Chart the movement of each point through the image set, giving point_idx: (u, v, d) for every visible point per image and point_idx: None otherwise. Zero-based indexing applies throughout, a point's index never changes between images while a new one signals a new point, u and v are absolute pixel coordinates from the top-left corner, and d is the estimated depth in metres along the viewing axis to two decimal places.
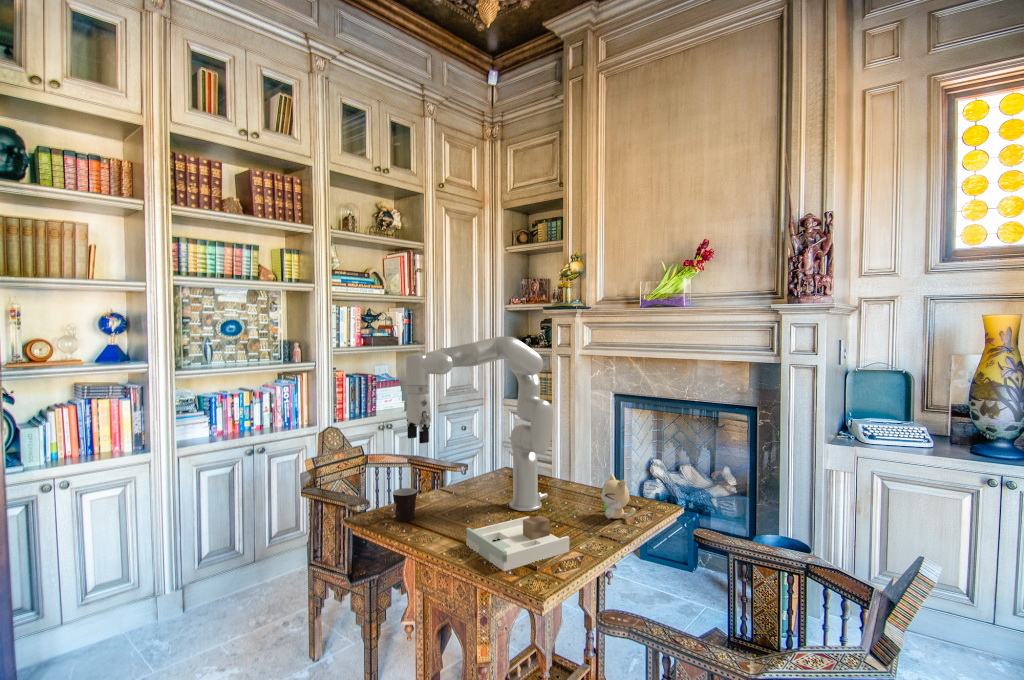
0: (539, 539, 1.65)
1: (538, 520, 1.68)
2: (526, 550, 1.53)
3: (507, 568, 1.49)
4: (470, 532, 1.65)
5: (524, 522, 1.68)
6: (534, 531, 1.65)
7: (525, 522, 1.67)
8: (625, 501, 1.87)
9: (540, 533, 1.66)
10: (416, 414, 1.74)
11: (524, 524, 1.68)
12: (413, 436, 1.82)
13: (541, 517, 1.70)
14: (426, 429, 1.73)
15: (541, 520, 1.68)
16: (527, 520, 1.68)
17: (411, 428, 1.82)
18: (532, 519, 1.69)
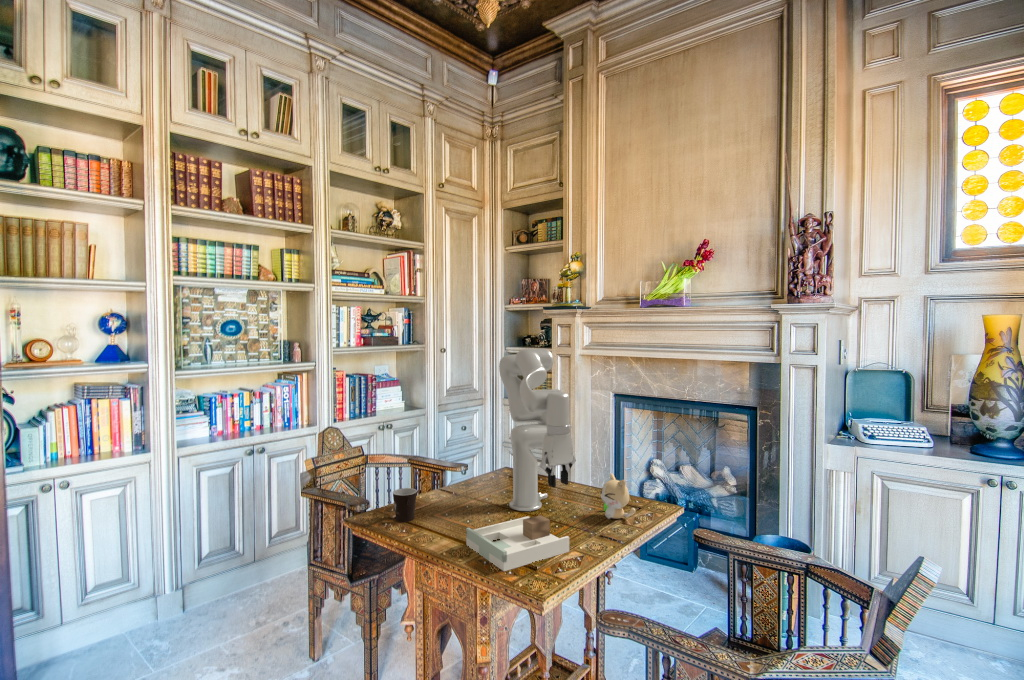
0: (539, 539, 1.65)
1: (538, 520, 1.68)
2: (526, 550, 1.53)
3: (507, 568, 1.49)
4: (470, 532, 1.65)
5: (524, 522, 1.68)
6: (534, 531, 1.65)
7: (525, 522, 1.67)
8: (625, 501, 1.87)
9: (540, 533, 1.66)
10: (571, 452, 1.73)
11: (524, 524, 1.68)
12: None
13: (541, 517, 1.70)
14: None
15: (541, 520, 1.68)
16: (527, 520, 1.68)
17: None
18: (532, 519, 1.69)
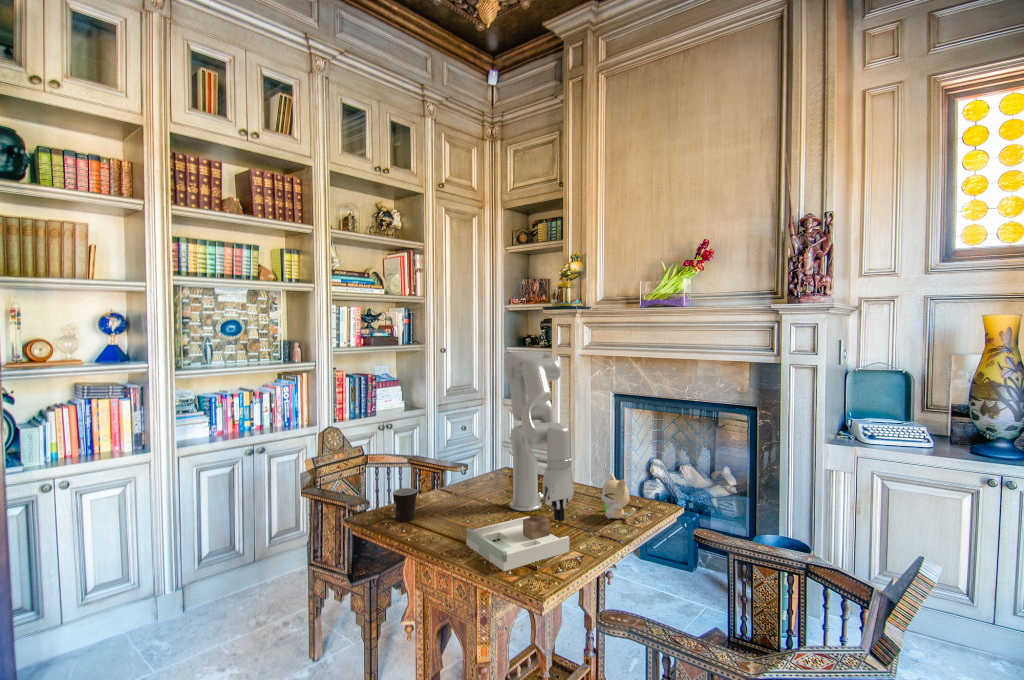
0: (539, 539, 1.65)
1: (538, 520, 1.68)
2: (526, 550, 1.53)
3: (507, 568, 1.49)
4: (470, 532, 1.65)
5: (524, 522, 1.68)
6: (534, 531, 1.65)
7: (525, 522, 1.67)
8: (625, 501, 1.87)
9: (540, 533, 1.66)
10: (571, 486, 1.73)
11: (524, 524, 1.68)
12: None
13: (541, 517, 1.70)
14: None
15: (541, 520, 1.68)
16: (527, 520, 1.68)
17: None
18: (532, 519, 1.69)
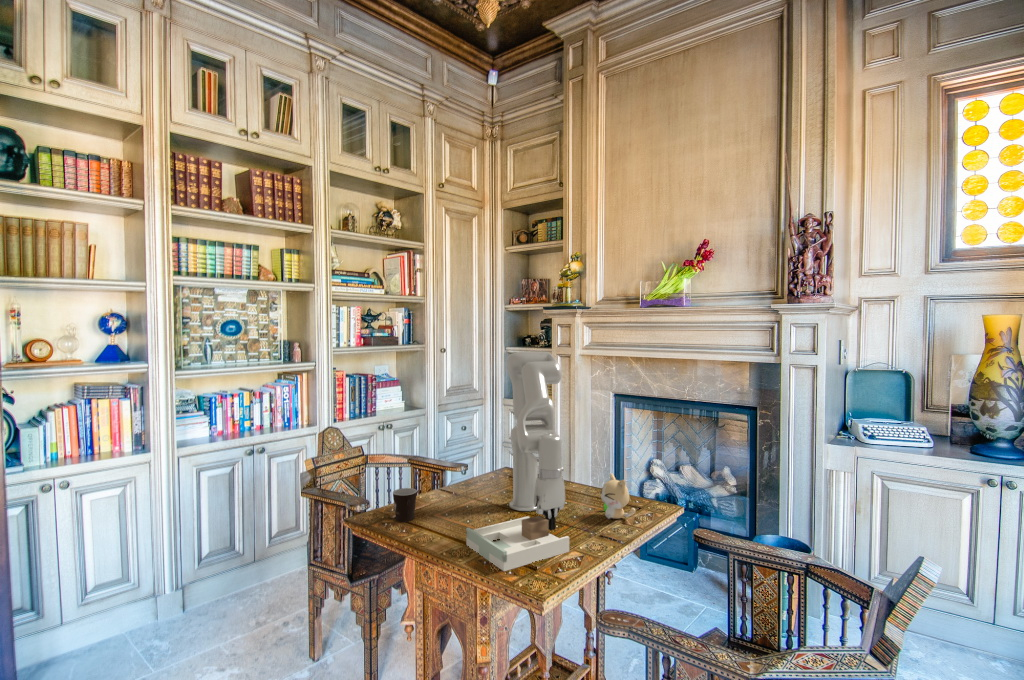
0: (539, 539, 1.65)
1: (536, 520, 1.68)
2: (526, 550, 1.53)
3: (507, 568, 1.49)
4: (470, 532, 1.65)
5: (523, 522, 1.67)
6: (533, 531, 1.65)
7: (524, 522, 1.67)
8: (625, 501, 1.87)
9: (539, 533, 1.66)
10: (563, 495, 1.72)
11: (523, 524, 1.67)
12: None
13: (540, 517, 1.70)
14: None
15: (540, 520, 1.67)
16: (526, 520, 1.67)
17: None
18: (531, 519, 1.68)
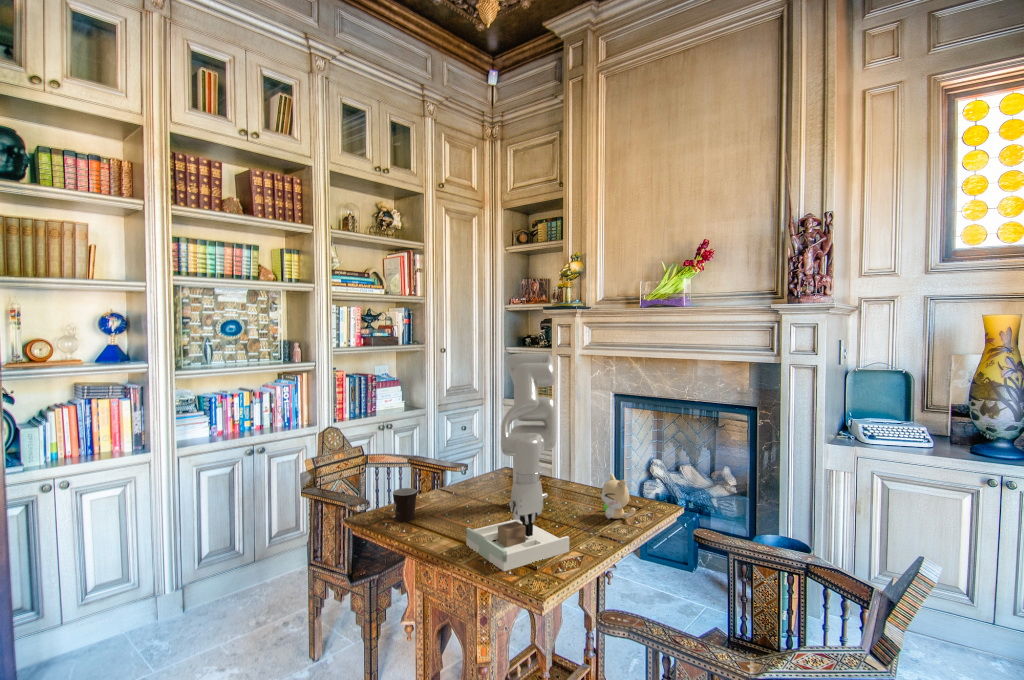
0: (539, 539, 1.65)
1: (513, 526, 1.63)
2: (526, 550, 1.53)
3: (507, 568, 1.49)
4: (470, 532, 1.65)
5: (499, 528, 1.62)
6: (509, 538, 1.59)
7: (500, 528, 1.62)
8: (625, 501, 1.87)
9: (515, 539, 1.61)
10: (541, 500, 1.67)
11: (499, 530, 1.62)
12: None
13: (517, 523, 1.65)
14: None
15: (516, 526, 1.62)
16: (502, 526, 1.62)
17: None
18: (507, 525, 1.63)
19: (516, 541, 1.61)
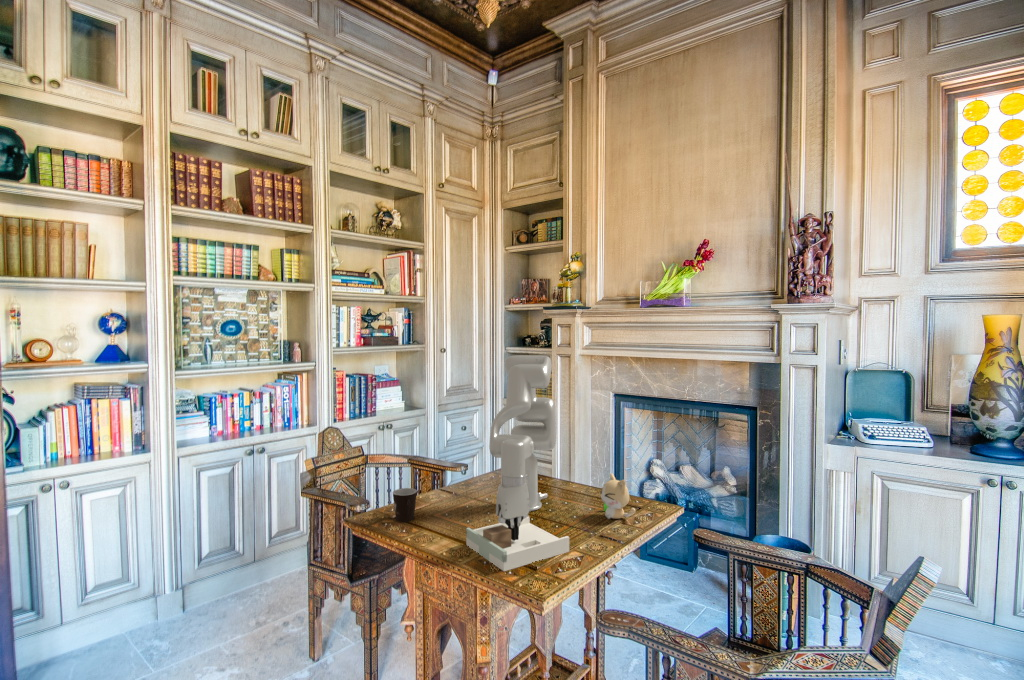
0: (539, 539, 1.65)
1: (498, 530, 1.60)
2: (526, 550, 1.53)
3: (507, 568, 1.49)
4: (470, 532, 1.65)
5: (484, 532, 1.59)
6: (494, 542, 1.56)
7: (485, 532, 1.59)
8: (625, 501, 1.87)
9: (500, 544, 1.58)
10: (527, 504, 1.64)
11: (484, 535, 1.59)
12: None
13: (503, 527, 1.62)
14: None
15: (502, 530, 1.59)
16: (487, 530, 1.59)
17: None
18: (493, 529, 1.60)
19: (501, 545, 1.58)
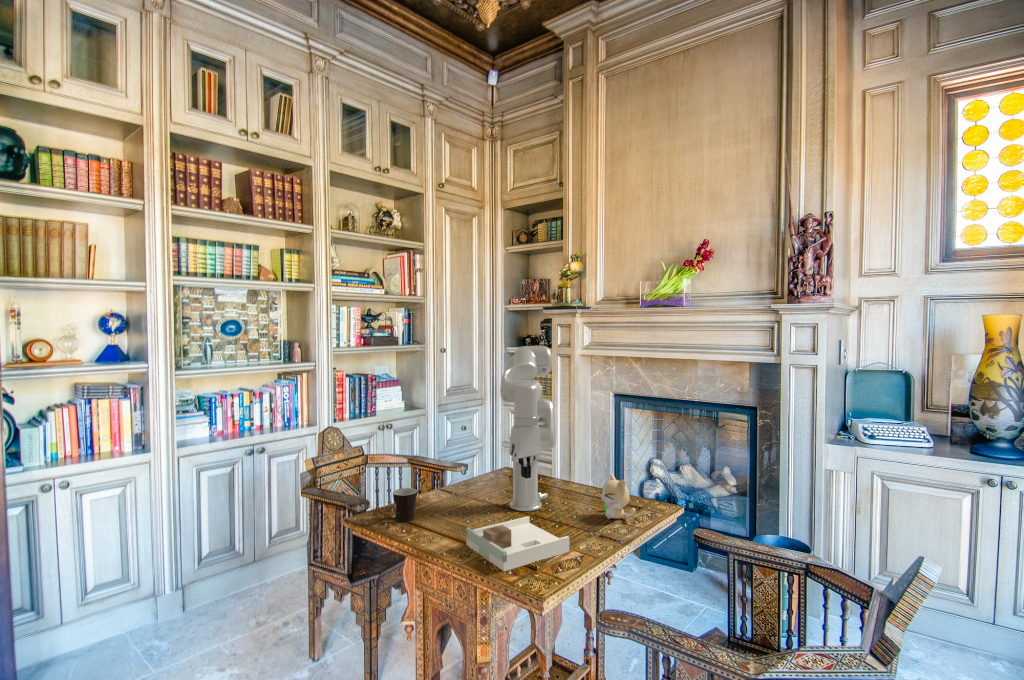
0: (539, 539, 1.65)
1: (498, 530, 1.60)
2: (526, 550, 1.53)
3: (507, 568, 1.49)
4: (470, 532, 1.65)
5: (484, 532, 1.59)
6: (494, 542, 1.56)
7: (485, 532, 1.59)
8: (625, 501, 1.87)
9: (500, 544, 1.58)
10: (539, 444, 1.72)
11: (484, 535, 1.59)
12: None
13: (503, 527, 1.62)
14: None
15: (502, 530, 1.59)
16: (487, 530, 1.59)
17: None
18: (493, 529, 1.60)
19: (501, 545, 1.58)
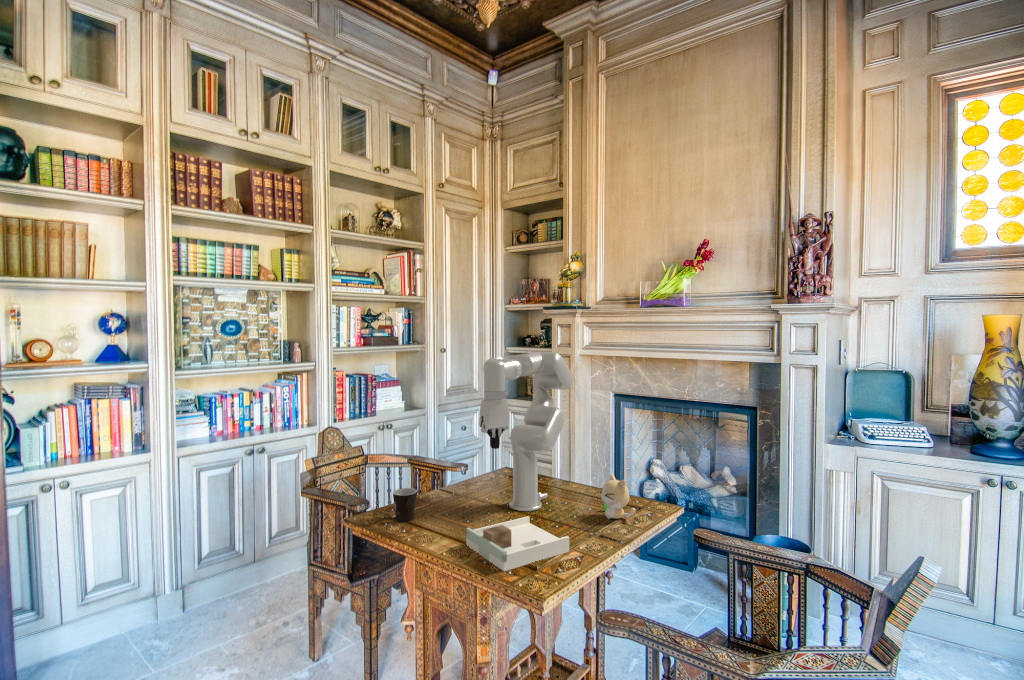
0: (539, 539, 1.65)
1: (498, 530, 1.60)
2: (526, 550, 1.53)
3: (507, 568, 1.49)
4: (470, 532, 1.65)
5: (484, 532, 1.59)
6: (494, 542, 1.56)
7: (485, 532, 1.59)
8: (625, 501, 1.87)
9: (500, 544, 1.58)
10: (507, 417, 1.84)
11: (484, 535, 1.59)
12: None
13: (503, 527, 1.62)
14: None
15: (502, 530, 1.59)
16: (487, 530, 1.59)
17: None
18: (493, 529, 1.60)
19: (501, 545, 1.58)
